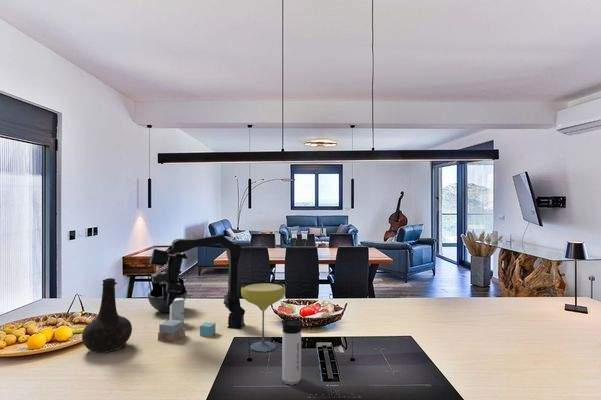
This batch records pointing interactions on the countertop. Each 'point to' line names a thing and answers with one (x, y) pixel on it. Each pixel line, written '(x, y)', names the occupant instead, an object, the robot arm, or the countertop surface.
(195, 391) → the countertop surface
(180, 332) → the walnut slab
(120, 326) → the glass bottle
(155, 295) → the coal bowl
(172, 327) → the slate slab
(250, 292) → the cocktail glass
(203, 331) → the teal cube
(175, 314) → the skincare box
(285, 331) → the travel mug
